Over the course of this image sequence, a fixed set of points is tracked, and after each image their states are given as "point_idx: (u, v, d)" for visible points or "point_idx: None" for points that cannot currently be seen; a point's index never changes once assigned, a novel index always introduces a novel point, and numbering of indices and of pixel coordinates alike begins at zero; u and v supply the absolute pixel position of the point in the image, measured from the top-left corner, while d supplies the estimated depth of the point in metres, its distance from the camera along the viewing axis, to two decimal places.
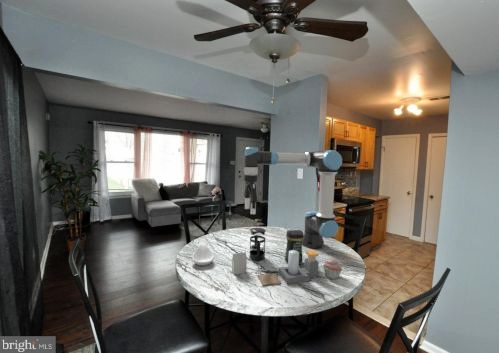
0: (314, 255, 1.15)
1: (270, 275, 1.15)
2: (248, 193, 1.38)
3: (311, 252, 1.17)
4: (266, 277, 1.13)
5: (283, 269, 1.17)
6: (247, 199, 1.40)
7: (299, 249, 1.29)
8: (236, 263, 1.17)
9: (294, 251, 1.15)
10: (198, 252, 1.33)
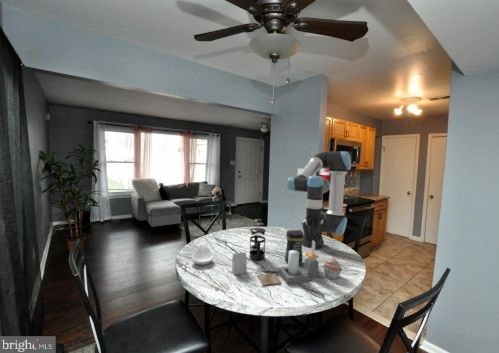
0: (314, 257, 1.15)
1: (270, 275, 1.15)
2: (314, 232, 1.16)
3: None
4: (266, 277, 1.13)
5: (283, 269, 1.17)
6: None
7: (299, 249, 1.29)
8: (235, 263, 1.17)
9: (294, 251, 1.15)
10: (198, 252, 1.34)
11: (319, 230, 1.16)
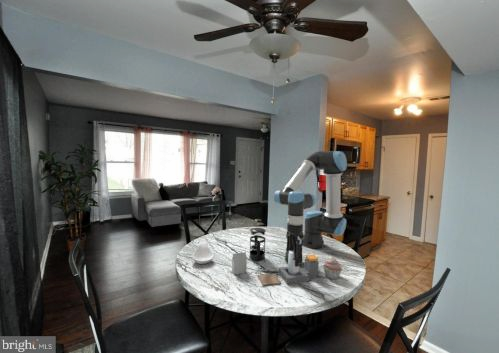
0: (314, 259, 1.15)
1: (270, 275, 1.15)
2: (292, 246, 1.16)
3: (311, 256, 1.17)
4: (266, 277, 1.13)
5: (283, 269, 1.17)
6: None
7: None
8: (235, 263, 1.17)
9: None
10: (198, 251, 1.35)
11: None
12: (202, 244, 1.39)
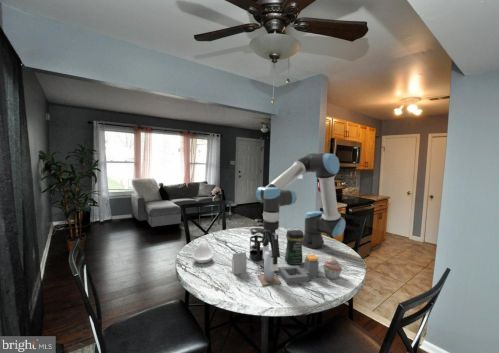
0: (314, 259, 1.15)
1: None
2: (267, 241, 1.15)
3: (311, 256, 1.17)
4: None
5: (283, 269, 1.17)
6: (266, 247, 1.17)
7: (299, 249, 1.29)
8: (235, 263, 1.17)
9: (270, 252, 1.12)
10: (199, 250, 1.36)
11: None
12: (203, 243, 1.40)
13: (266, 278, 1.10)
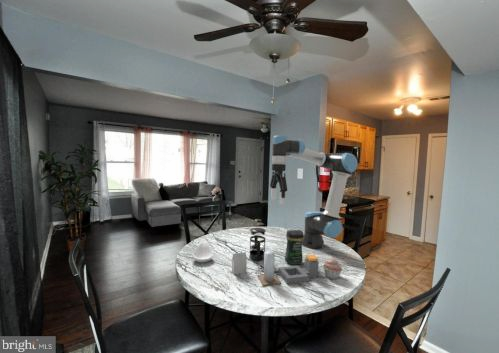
0: (314, 259, 1.15)
1: None
2: (275, 183, 1.34)
3: (311, 256, 1.17)
4: None
5: (283, 269, 1.17)
6: (273, 189, 1.36)
7: (299, 249, 1.29)
8: (235, 263, 1.17)
9: (270, 251, 1.12)
10: (199, 249, 1.37)
11: None
12: (203, 243, 1.41)
13: (266, 278, 1.10)
